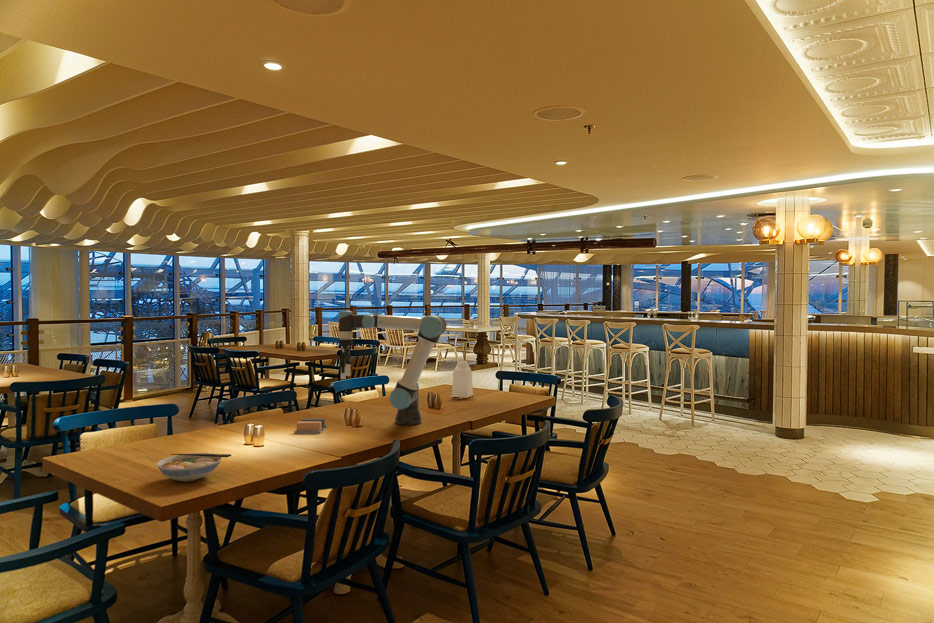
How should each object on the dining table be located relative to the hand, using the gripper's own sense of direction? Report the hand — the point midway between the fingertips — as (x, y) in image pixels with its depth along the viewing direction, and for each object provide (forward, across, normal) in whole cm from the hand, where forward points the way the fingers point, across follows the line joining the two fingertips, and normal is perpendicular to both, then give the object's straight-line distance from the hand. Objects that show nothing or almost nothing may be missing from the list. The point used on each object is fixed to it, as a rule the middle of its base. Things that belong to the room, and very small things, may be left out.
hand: (345, 377), depth 328 cm
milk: (+27, -96, +66) cm, 120 cm away
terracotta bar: (+26, +20, -15) cm, 36 cm away
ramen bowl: (+27, +98, -42) cm, 110 cm away
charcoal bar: (+26, +13, -15) cm, 32 cm away
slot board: (+27, +16, -15) cm, 35 cm away
